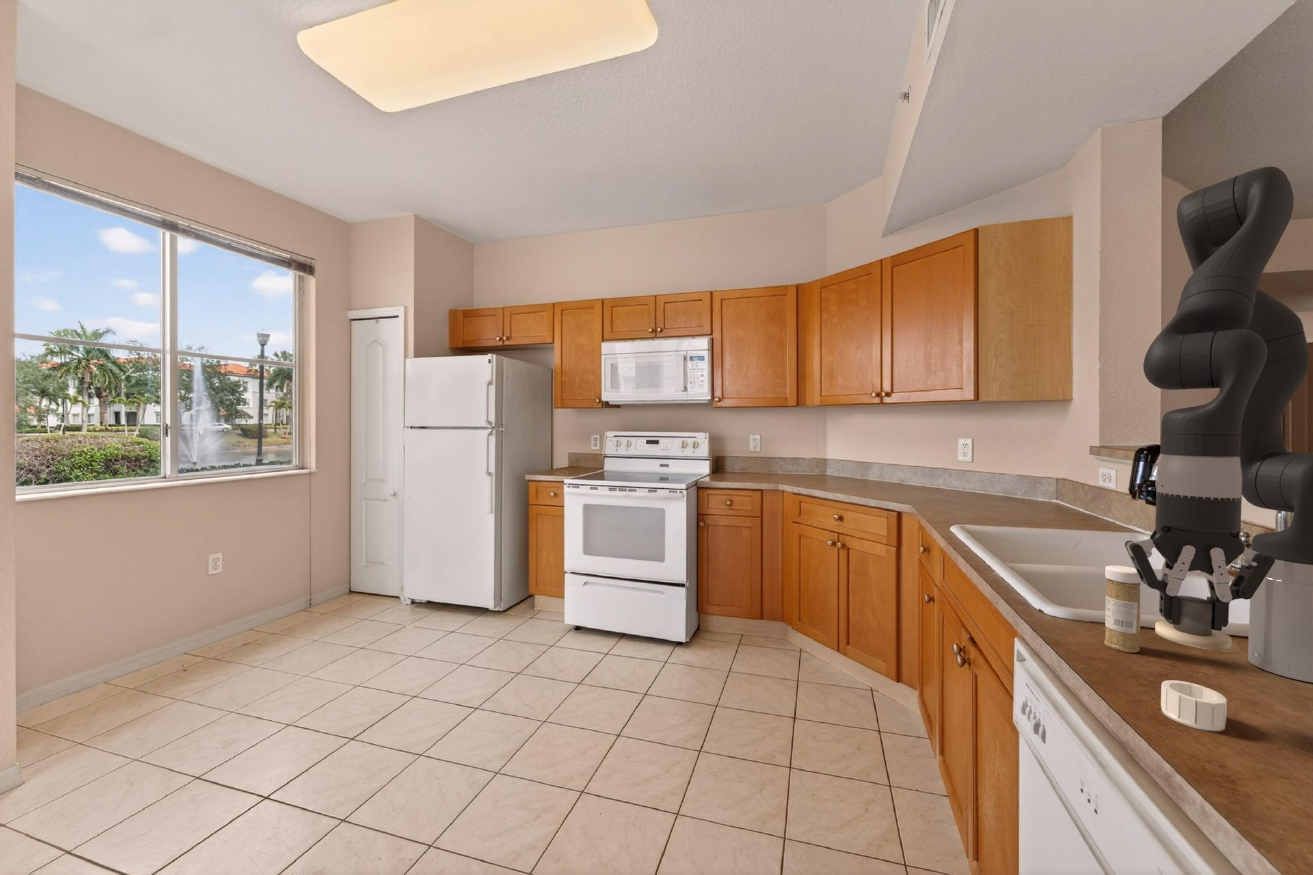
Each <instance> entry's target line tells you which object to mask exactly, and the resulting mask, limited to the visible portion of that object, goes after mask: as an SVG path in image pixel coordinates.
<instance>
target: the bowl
mask: <svg viewBox="0 0 1313 875" xmlns="http://www.w3.org/2000/svg"><path fill="white" fill-rule="evenodd" d="M1227 703H1228V700H1227V698H1226V697H1225V696H1224V695H1223V694H1222V693H1220V692H1218V691H1215V690H1214V689H1211V688H1208V687H1206V686H1203V685H1200V684H1196V683H1193V682H1189V681H1183V680H1174V679H1173V680H1171V679H1170V680H1168V679H1167V680H1163V681H1162V682H1161V688H1160V707H1161V713H1163V715H1164V716H1165V717H1168V718H1169V719H1171V720H1172V721H1175V722H1177V723H1179V724H1181V725H1184V726H1187V727H1191V728H1193V729H1197V730H1201V731H1205V732H1206V731H1207V732H1223V731H1225V730H1226V723H1227V708H1228V706H1227Z"/></svg>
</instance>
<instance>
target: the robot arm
mask: <svg viewBox="0 0 1313 875" xmlns="http://www.w3.org/2000/svg"><path fill="white" fill-rule="evenodd" d="M1294 199H1295V198H1294V191H1293V188H1292V185H1291V182H1290V180H1289V178H1288V176H1287V174H1286V173H1285V172H1284V171H1283V170H1282V169H1281V168H1279V167H1277V166H1274V165H1273V166H1271V165H1270V166H1262V167H1259V168H1255V169H1253V170H1249V171H1246V172H1243V173H1241V174H1238V175H1235V176H1233V177H1229V178H1227V179H1224V180H1222V181H1220V182H1216V183H1214V184H1212V185H1208V186H1205V187H1203V188H1200V189H1198V190H1195V191H1192V192H1190V193H1188V194H1185V195H1184V196H1183V197H1182V198H1180V200H1179V201H1178V204H1177V208H1176V220H1177V221H1176V222H1177V226H1178V230H1179V234H1180V238H1181V240H1182V243H1183V246H1184V249H1185V253H1186V255H1187V258H1188V260H1189V263H1190V266H1191V269H1192V274H1190V276H1189V278H1188V279H1187V281H1186V282H1185V284H1184V287H1183V289H1182V291H1181V295H1180V299H1179V302H1178V305H1177V309H1176V312H1175V314H1174V316H1173V317H1172V318H1171V320H1169V322H1168V323H1167V324H1166V325H1165V327H1164V328H1163V329H1162V330H1161V331H1160V332H1159V334H1158V335H1157V336H1156V337H1155V338H1154V340H1153V341H1152V342H1151V343H1150V345H1149V347H1148V349H1147V350H1146V351H1147V352H1146V353H1145V356H1144V358H1143V364H1142V365H1143V366H1142V368H1143V374H1144V375H1145V378H1146V380H1147V381H1148V382H1149V383H1150V384H1152V385H1153V386H1154V387H1156V388H1157V389H1160V390H1161V389H1162V390H1169V391H1171V390H1172V391H1173V390H1174V391H1175V390H1177V391H1178V390H1203V389H1206V390H1208V389H1219V390H1218V393H1217V395H1216V396H1215V397H1214V398H1213V399H1212V400H1210V401H1209V402H1206V403H1204V404H1200V405H1196V406H1189V407H1183V408H1176V409H1172V410H1169V411H1167V412H1166V413H1165V414H1164V415H1163V416H1162V417H1161V418H1162V419H1161V427H1160V451H1159V452H1160V455H1159V461H1158V465H1157V471H1156V480H1155V488H1156V489H1155V490H1156V495H1155V498H1156V499H1155V520H1154V521H1155V522H1154V525H1155V527H1154V531H1153V532H1152V533H1151V534H1150V536H1149V538H1146V539H1143V540H1138V541H1134V540H1126V541H1125V542H1124V547H1125V549H1126V551H1127V553H1128V555H1129V558H1130V560H1131V562H1132V564H1133V566H1134V568H1135V569H1136V570H1137V573H1138V575H1139V577H1140V579H1141V581H1142V582H1141V583H1143V584H1144V585H1146V586H1147V587H1148V588H1150V589H1151V590H1156V591H1158V592H1159V599H1158V600H1159V604H1158V605H1159V606H1158V612H1159V614H1160V616H1161V617H1162V618H1163V619H1164V621H1167V622H1168V623H1169V624H1172V625H1179V610H1180V597H1178V596H1179V593H1180V589H1181V586H1182V583H1183V582H1184V581H1185V580H1186V577H1187V574H1188V572H1202V574H1203V577H1204V578H1205V580H1206V584H1207V588H1208V592H1209V594H1210V595H1209V596H1206V600H1208V601H1210V602H1212V603H1213V610H1212V630H1216V631H1220V632H1222V630H1223V628H1226V627H1227V626H1228V625H1229V620H1230V619H1229V616H1230V614H1229V613H1230V603H1231V602H1232V601H1235V600H1240V599H1242V600H1246V601H1247V600H1249V615H1248V616H1249V617H1248V618H1249V621H1248V647H1247V648H1248V650H1247V651H1248V652H1247V653H1248V654H1247V655H1248V656H1247V661H1248V662H1249V663H1250V664H1252V665H1253V666H1256V667H1258V668H1260V669H1262V670H1264V671H1267V672H1269V673H1273V674H1274V675H1277V676H1278V675H1279V676H1282V677H1285V678H1289V679H1294V680H1298V681H1303V682H1308V683H1313V452H1304V451H1303V452H1301V451H1288V450H1287V447H1286V445H1285V441H1284V436H1283V435H1284V434H1283V418H1284V414H1285V412H1286V409H1287V408H1288V406H1289V404H1290V402H1291V401H1292V399H1293V397H1294V396H1295V394H1296V393H1297V391H1298V390H1299V388H1300V387H1301V385H1302V383H1303V381H1304V380H1305V378H1306V376H1307V374H1308V373H1309V370H1310V369H1309V368H1310V365H1311V355H1310V351H1309V345H1308V342H1307V338H1306V333H1305V330H1304V325H1303V322H1302V320H1301V318H1300V317H1299V315H1298V314H1297V313H1296V312H1295V311H1293V310H1292V309H1291V308H1290V307H1288V306H1287V305H1285V304H1284V303H1282V302H1281V301H1280V300H1278V299H1276V298H1274V297H1273V296H1272V295H1270V294H1268V293H1266V292H1265V291H1263V290H1261V289H1260V288H1259V284H1260V281H1261V278H1262V275H1263V273H1264V271H1265V269H1266V266H1267V264H1268V262H1269V261H1270V260H1271V258H1272V256H1273V254H1274V253H1275V251H1276V248H1277V246H1278V245H1279V243H1280V241H1281V238H1282V236H1283V235H1284V233H1285V231H1286V229H1287V227H1288V225H1289V224H1290V220H1291V218H1292V214H1293V211H1294ZM1243 498H1244V499H1245V500H1246V502H1247V503H1249V504H1251V505H1252V506H1254V507H1256V508H1261V509H1266V510H1272V511H1278V512H1286V513H1292V519H1291V522H1290V525H1289V527H1286V528H1285V529H1282V530H1279V531H1272V532H1262V533H1258V534H1255V535H1254V536H1253V537H1252V539H1251V549H1250V548H1247V547H1246V546H1245V543H1244V542H1243V540H1242V539H1241V530H1242V529H1241V528H1242V526H1241V525H1242V524H1241V522H1242V500H1243ZM1153 548H1155V549H1156V550H1157V552H1158V553H1159V554H1160V555H1161V557H1162V558H1163V559H1164V561H1163V564H1162V567H1161V577H1160V579H1158V577H1157V575H1156V572H1155V570H1154V568H1153V566H1152V564H1151V562H1150V560H1149V558H1151V556H1152V555H1153V552H1152V551H1153ZM1239 557H1240V560H1239V561H1240V563H1241V565H1242V566H1241V567H1240V569H1239V570H1238V572H1237V573H1236V575H1235V576H1234V577H1233V580H1232V582H1230V576H1229V571H1228V569H1227V567H1228V566H1229V565H1230V564H1232V563H1233V562H1234V561H1235V560H1236V559H1237V558H1239Z"/></svg>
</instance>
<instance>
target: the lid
mask: <svg viewBox="0 0 1313 875" xmlns="http://www.w3.org/2000/svg"><path fill="white" fill-rule="evenodd" d="M1177 596H1178V597H1180V610H1179V625H1172V624H1169V623H1168V622H1167V621H1166V620H1159V621H1156V622H1155V625H1154V627H1155V628H1154V632H1155V634H1156V635H1158V636H1159V637H1161V638H1162V639H1165V640H1168V641H1170V642H1174V643H1177V644H1181V645H1183V646H1187V647H1192V648H1197V649H1204V650H1209V651H1211V650H1212V651H1229V650H1231V649H1232V642H1233V640H1232V637H1231V636H1230V635H1229V634H1226V633H1224V632H1222V631H1216V630H1212V610H1213V603H1212V602H1210V601H1208V600H1207V599H1205V598H1202V597H1197V596H1196V597H1195V596H1190V595H1177Z"/></svg>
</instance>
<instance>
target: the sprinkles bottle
mask: <svg viewBox="0 0 1313 875" xmlns="http://www.w3.org/2000/svg"><path fill="white" fill-rule="evenodd" d="M1104 572H1105V573H1104V577H1105V580H1106V583H1105V586H1106V588H1105V589H1106V591H1105V592H1106V593H1105V610H1104V612H1105V613H1104V614H1105V615H1104V616H1105V620H1104V621H1105V622H1104V625H1105V638H1104V641H1103V643H1104V645H1105V646H1106V647H1109V648H1111V649H1113V650H1117V651H1119V652H1124V653H1125V652H1126V653H1138V652H1139V651H1141V646H1140V631H1141V609H1140V608H1141V603H1140V602H1141V585H1142V584H1141V583H1143V582H1142V581H1141V579H1140V577H1139V575H1138V573H1137V570H1136V568H1135V567H1130V566H1124V565H1107V566H1105V570H1104Z"/></svg>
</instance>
